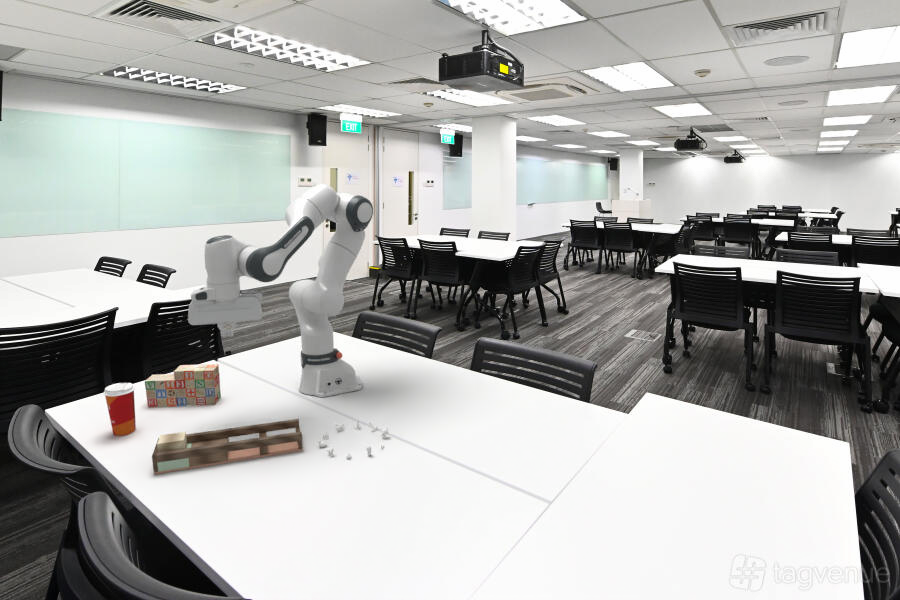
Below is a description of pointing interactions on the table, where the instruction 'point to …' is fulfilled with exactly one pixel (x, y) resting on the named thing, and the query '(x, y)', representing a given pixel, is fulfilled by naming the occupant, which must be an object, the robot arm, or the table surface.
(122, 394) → the paper cup
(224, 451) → the track
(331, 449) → the game piece set
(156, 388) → the stack of blocks
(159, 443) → the maple block
